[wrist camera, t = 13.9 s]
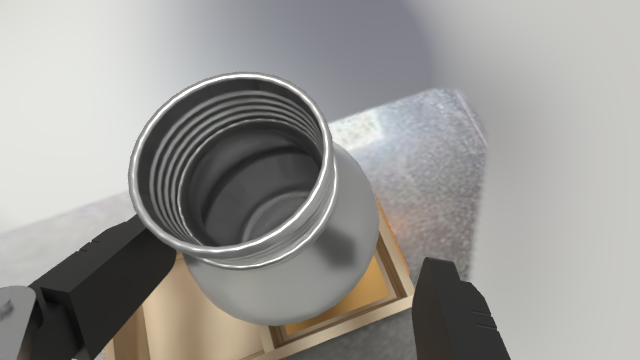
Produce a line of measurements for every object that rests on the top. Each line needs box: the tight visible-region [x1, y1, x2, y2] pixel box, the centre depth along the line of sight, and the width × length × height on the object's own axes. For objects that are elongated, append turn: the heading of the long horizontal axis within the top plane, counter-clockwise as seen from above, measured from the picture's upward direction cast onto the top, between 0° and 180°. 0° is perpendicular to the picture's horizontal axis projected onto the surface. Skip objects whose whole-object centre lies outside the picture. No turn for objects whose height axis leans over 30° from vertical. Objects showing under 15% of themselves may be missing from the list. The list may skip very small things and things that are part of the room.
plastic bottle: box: [128, 72, 380, 326], centre depth 15 cm, size 6×7×20 cm
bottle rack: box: [104, 195, 415, 360], centre depth 23 cm, size 20×10×5 cm, turn 110°
